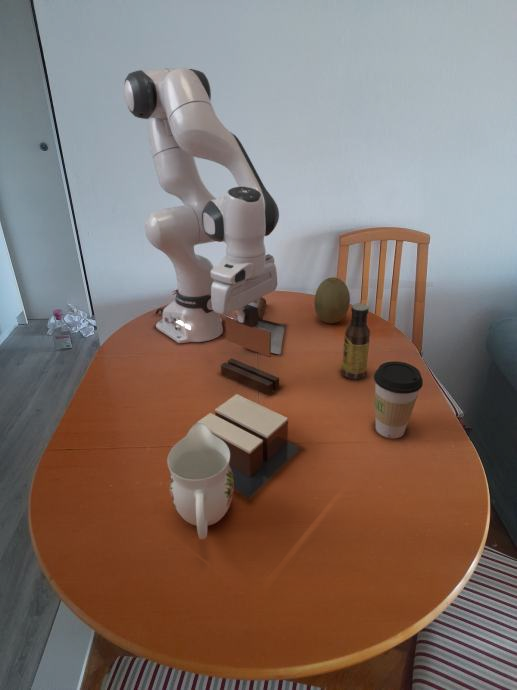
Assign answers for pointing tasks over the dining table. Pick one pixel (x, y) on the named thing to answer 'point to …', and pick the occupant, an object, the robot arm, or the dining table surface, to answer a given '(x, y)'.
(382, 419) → the coffee cup
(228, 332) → the dough scraper
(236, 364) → the stand
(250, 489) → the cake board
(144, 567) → the dining table surface
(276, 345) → the meat cleaver
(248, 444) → the cake slice
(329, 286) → the fruit
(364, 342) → the sauce bottle
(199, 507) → the pitcher
